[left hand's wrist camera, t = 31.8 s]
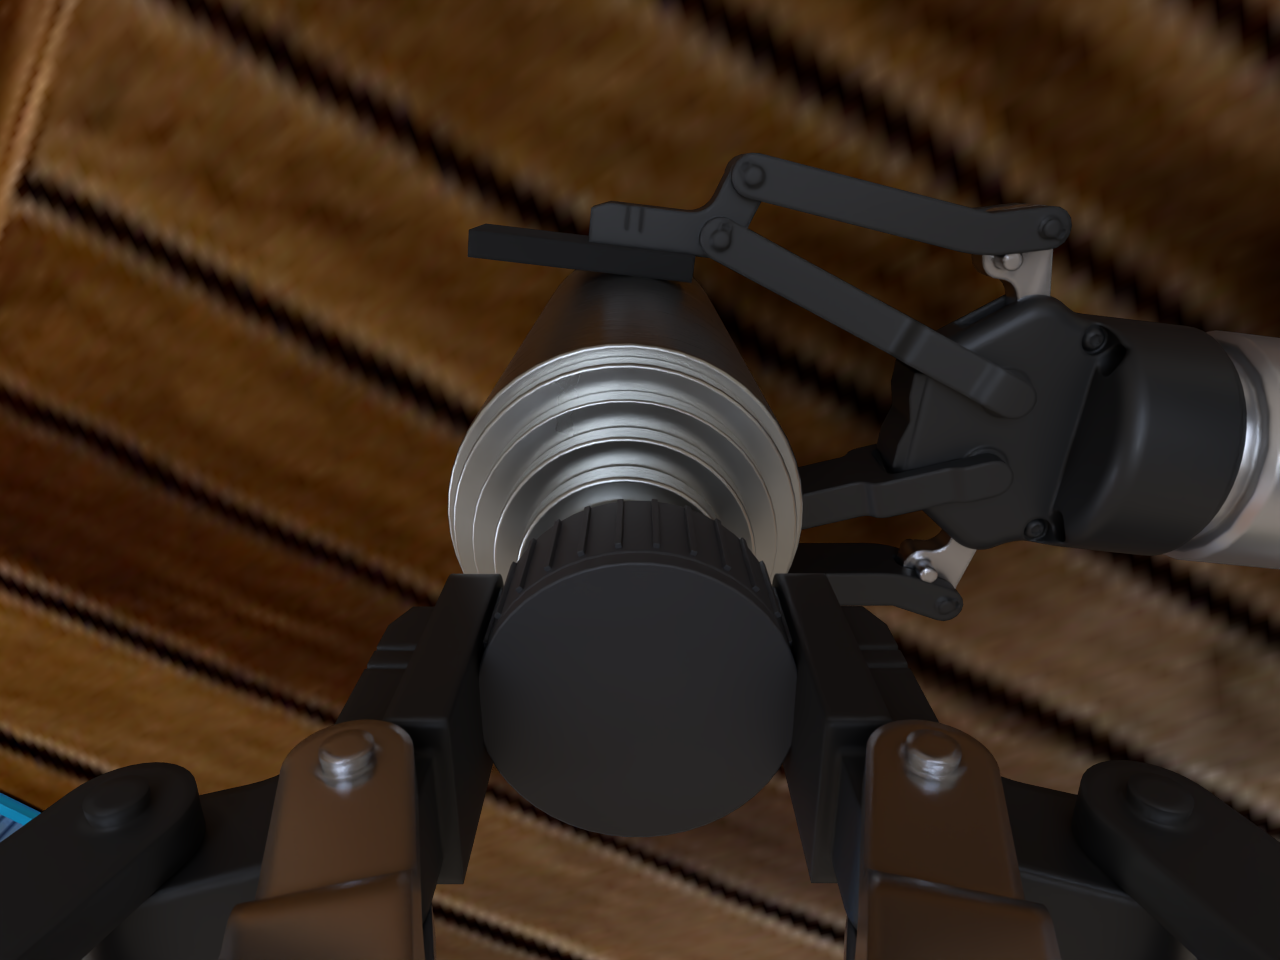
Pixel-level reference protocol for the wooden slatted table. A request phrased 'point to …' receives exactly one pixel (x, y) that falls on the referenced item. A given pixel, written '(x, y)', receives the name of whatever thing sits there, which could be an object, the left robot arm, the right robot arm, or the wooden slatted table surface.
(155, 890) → the left robot arm
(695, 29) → the wooden slatted table surface
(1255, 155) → the wooden slatted table surface
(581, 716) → the cap
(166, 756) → the wooden slatted table surface
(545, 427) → the bottle
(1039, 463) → the right robot arm
